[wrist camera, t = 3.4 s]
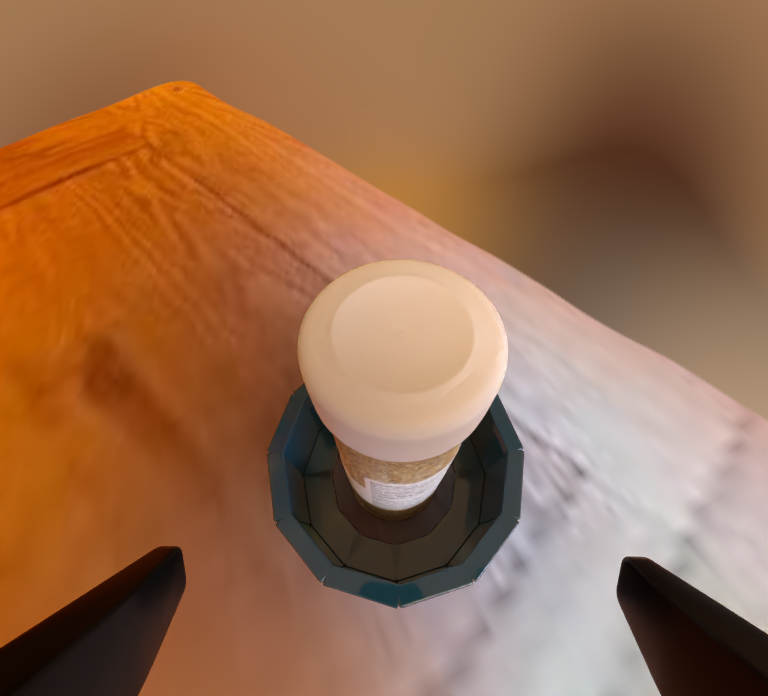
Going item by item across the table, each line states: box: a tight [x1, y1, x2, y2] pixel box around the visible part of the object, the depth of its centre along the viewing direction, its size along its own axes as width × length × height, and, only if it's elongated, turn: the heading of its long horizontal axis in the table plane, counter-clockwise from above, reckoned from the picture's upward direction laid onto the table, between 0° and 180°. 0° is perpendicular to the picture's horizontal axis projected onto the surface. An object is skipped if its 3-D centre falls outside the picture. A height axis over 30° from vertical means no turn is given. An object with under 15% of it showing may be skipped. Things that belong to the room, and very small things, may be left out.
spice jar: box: [297, 259, 508, 521], centre depth 13 cm, size 5×5×13 cm
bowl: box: [267, 383, 524, 609], centre depth 17 cm, size 10×10×4 cm
